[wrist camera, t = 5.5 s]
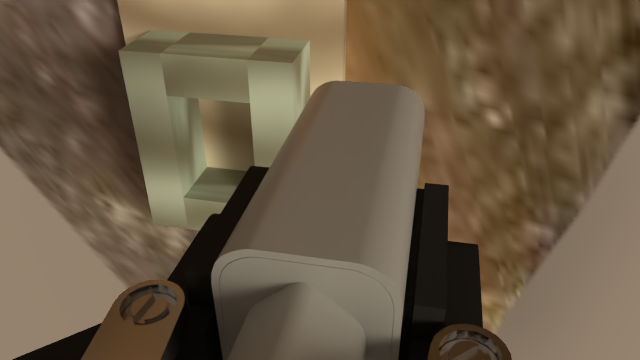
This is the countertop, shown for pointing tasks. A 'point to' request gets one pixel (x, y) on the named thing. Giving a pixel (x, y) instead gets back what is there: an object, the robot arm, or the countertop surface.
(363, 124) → the power adapter
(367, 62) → the countertop surface
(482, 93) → the countertop surface
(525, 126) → the countertop surface
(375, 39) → the countertop surface
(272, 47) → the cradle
